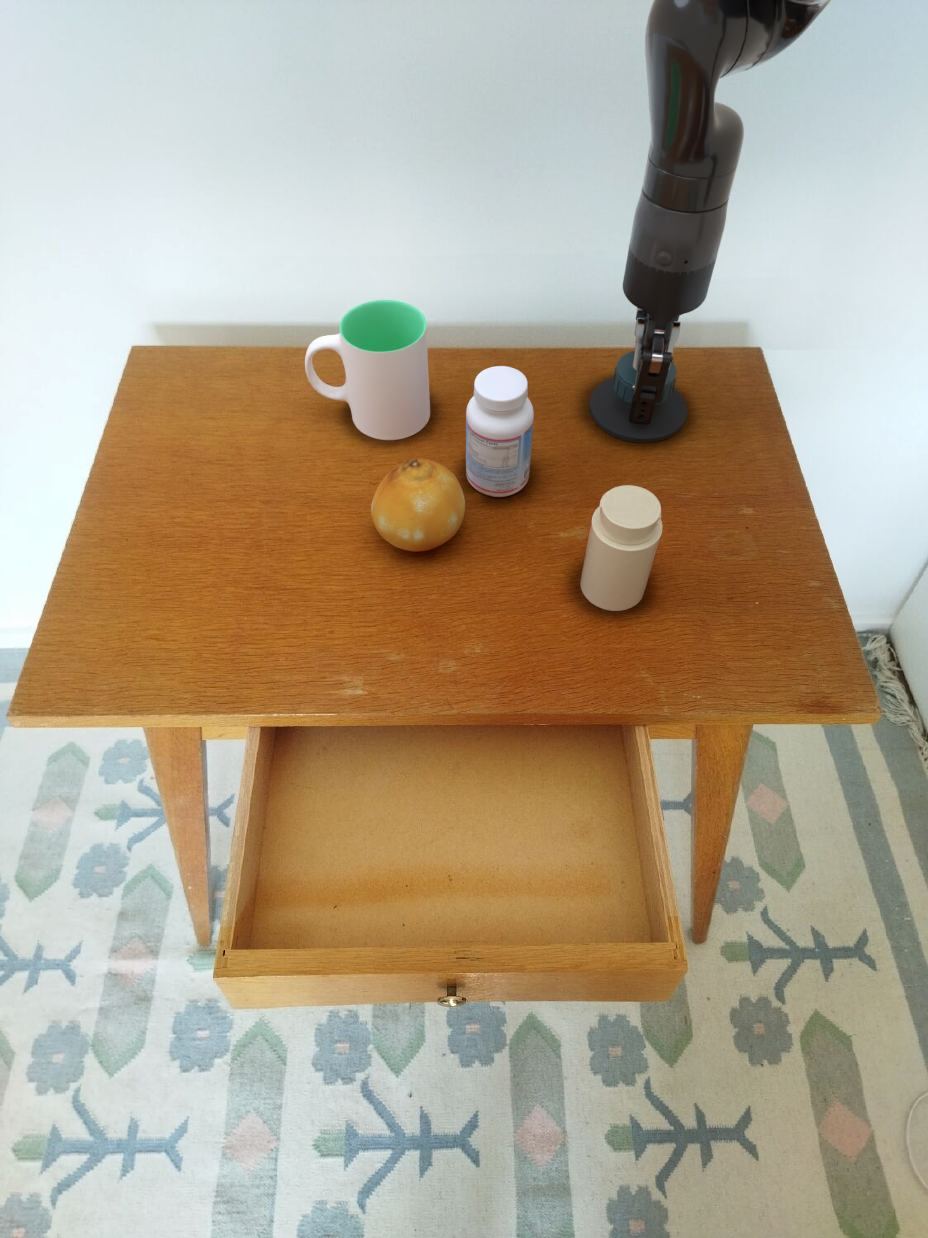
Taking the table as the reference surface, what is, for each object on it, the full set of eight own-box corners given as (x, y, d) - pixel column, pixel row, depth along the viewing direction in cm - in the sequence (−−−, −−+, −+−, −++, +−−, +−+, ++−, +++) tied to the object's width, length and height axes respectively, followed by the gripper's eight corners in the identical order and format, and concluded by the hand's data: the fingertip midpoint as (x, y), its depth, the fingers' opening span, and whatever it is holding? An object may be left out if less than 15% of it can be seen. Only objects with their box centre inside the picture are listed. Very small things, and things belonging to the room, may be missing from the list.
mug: (310, 441, 82) (292, 354, 74) (316, 389, 87) (300, 301, 78) (430, 439, 82) (426, 351, 74) (430, 386, 87) (426, 298, 79)
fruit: (397, 461, 77) (382, 435, 69) (479, 485, 76) (473, 462, 68) (370, 543, 77) (351, 527, 69) (452, 569, 76) (442, 556, 68)
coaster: (686, 383, 87) (687, 379, 87) (686, 448, 82) (687, 443, 81) (592, 374, 88) (593, 369, 88) (585, 437, 83) (586, 432, 82)
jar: (646, 565, 73) (668, 484, 65) (643, 615, 70) (666, 537, 62) (583, 556, 73) (597, 476, 65) (577, 606, 70) (592, 528, 62)
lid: (619, 363, 85) (622, 344, 83) (677, 375, 84) (682, 356, 82) (606, 399, 81) (609, 380, 80) (666, 412, 80) (671, 393, 78)
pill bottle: (496, 446, 82) (500, 350, 73) (541, 477, 79) (551, 382, 70) (452, 476, 79) (451, 381, 70) (497, 509, 77) (502, 415, 68)
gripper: (720, 296, 66) (676, 453, 79) (717, 204, 74) (678, 360, 88) (626, 287, 66) (598, 444, 80) (633, 197, 75) (607, 353, 88)
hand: (640, 400), depth 84 cm, fingers closed on lid, 6 cm apart
